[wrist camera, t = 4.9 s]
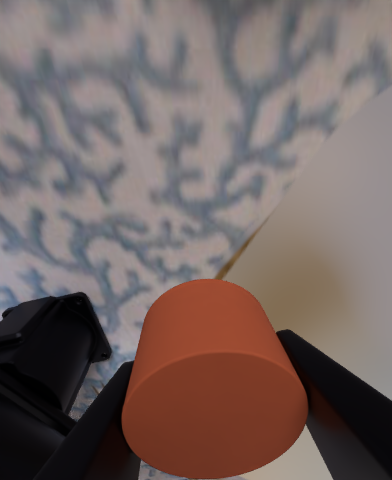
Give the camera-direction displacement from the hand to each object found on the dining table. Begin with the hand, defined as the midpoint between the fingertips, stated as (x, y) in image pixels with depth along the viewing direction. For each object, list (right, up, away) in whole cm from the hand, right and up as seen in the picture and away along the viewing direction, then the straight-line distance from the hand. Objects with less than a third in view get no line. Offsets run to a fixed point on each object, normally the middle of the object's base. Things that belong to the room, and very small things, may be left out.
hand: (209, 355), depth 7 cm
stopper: (0, 0, +1) cm, 1 cm away
